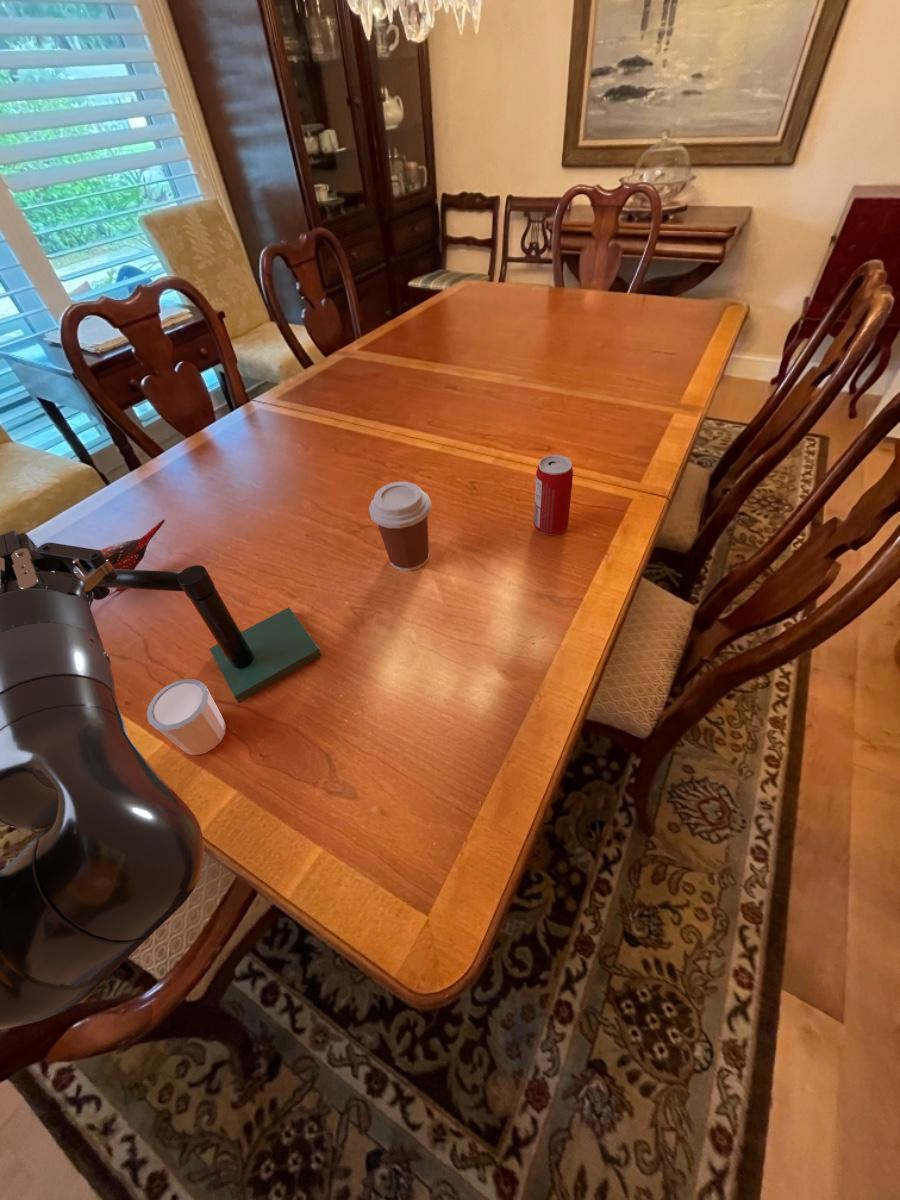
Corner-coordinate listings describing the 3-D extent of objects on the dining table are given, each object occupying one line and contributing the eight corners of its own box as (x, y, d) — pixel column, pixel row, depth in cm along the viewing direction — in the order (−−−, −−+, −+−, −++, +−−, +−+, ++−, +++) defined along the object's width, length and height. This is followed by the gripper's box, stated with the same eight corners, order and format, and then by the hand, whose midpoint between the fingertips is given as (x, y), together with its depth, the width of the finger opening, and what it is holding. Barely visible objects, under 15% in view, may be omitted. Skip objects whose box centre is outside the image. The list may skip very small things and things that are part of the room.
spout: (85, 603, 64) (65, 578, 61) (101, 584, 66) (82, 560, 63) (213, 610, 62) (198, 585, 59) (225, 590, 64) (211, 565, 61)
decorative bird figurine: (81, 611, 83) (40, 563, 75) (176, 545, 92) (148, 497, 85) (91, 618, 81) (50, 570, 74) (186, 550, 91) (159, 502, 84)
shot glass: (162, 749, 65) (132, 719, 60) (199, 703, 69) (175, 671, 64) (206, 767, 62) (179, 737, 57) (242, 718, 67) (220, 687, 62)
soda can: (574, 528, 87) (582, 464, 78) (547, 541, 85) (551, 477, 76) (554, 511, 90) (559, 448, 81) (527, 523, 89) (529, 460, 80)
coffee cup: (426, 581, 81) (416, 518, 72) (371, 571, 83) (355, 509, 75) (445, 543, 87) (438, 480, 78) (394, 535, 89) (381, 473, 81)
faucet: (238, 703, 68) (189, 629, 58) (213, 654, 74) (164, 580, 64) (322, 655, 73) (290, 579, 62) (292, 613, 79) (258, 537, 68)
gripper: (114, 585, 35) (69, 473, 45) (-131, 694, 30) (-119, 541, 40) (167, 655, 40) (116, 542, 50) (-33, 757, 35) (-45, 609, 45)
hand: (11, 542), depth 45 cm, fingers closed
